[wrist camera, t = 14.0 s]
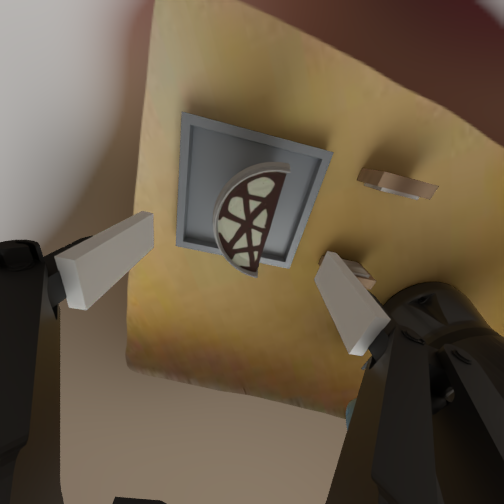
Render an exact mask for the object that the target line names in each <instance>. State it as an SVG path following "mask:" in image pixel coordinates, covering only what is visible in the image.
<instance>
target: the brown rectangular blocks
mask: <svg viewBox="0 0 504 504" xmlns="http://www.w3.org/2000/svg"><path fill="white" fill-rule="evenodd" d="M357 180H358V181H361V182H365V184H364V186H367V187H371V188H374V189H377V190H380V191H384V192H388V193H392V194H396V195H400V196H404V197H408V198H411V199H415V200H418V199H419V197H422V198H426V199H431V198H432V196H433V195H434V193H435V192H436V190H437V189H438V187H439V186H437V185H433V184H430V183H426V182H422V181H418V180H415V179H411V178H407V177H403V176H399V175H396V174H392V173H388V172H384V171H378V170H372V169H365V168H362V170H361V172H360V174H359V176H358V179H357ZM324 257H325V256H322V257H321V259H320V261H319V263H318V264H319V265H320V266H321V264H322V261H323V259H324ZM342 260H343V261H344V263H345V264H346V265H347V266H348V268H349V269H350V270H351V271H352V273H353V274H354V275H355V276H356V277H357V279H358V280H359V281H360V282H361V284H362V285H363V286H364V287H365V288H367V289H372V287H373V286H374V284H375V283H376V280H375V279H374V278H373V277H372V276H371V275H370V274H369V273H368V272H367V271H366V270H365V268H364V267H363V266H362V265H361V264H359V263H357V262H354V261H349V260H345V259H342Z"/></svg>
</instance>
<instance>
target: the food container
mask: <svg viewBox="0 0 504 504" xmlns="http://www.w3.org/2000/svg"><path fill="white" fill-rule="evenodd" d="M287 173H291V171H290V165H289V163H283V162H265V163H259V164H256V165H253V166H250V167H247V168H246V169H244V170H242V171H240V172H238V173H237V174H236V175H235V176H233V177H232V178H231V179H230V180H229V181H228V182H227V183H226V184H225V186H224V187H223V189H222V190H221V192H220V193H219V195H218V198H217V200H216V202H215V206H214V210H213V232H214V237H215V240H216V243H217V246H218V248H219V250H220V251H221V253H222V254H223V256H224V257H225V259H226V260H227V261H228V262H229V263H230V264H231V265H232V266H233V267H235V268H236V269H237V270H239V271H241V272H242V273H244V274H246V275H249V276H251V277H255V278H257V276H258V267H259V262H260V259H261V255H262V252H263V249H264V246H265V243H266V240H267V237H268V234H269V231H270V228H271V224H272V221H273V217H274V214H275V210H276V207H277V204H278V200H279V197H280V194H281V191H282V187H283V184H284V181H285V177H286V174H287Z"/></svg>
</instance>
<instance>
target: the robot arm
mask: <svg viewBox="0 0 504 504" xmlns="http://www.w3.org/2000/svg"><path fill="white" fill-rule="evenodd" d="M152 248H154V230H153V213H150V212H145V211H141V212H139V213H137V214H135V215H133V216H131V217H130V218H127V219H126V220H124V221H122V222H120V223H118V224H116V225H114V226H112V227H110V228H108V229H106V230H104V231H102V232H100V233H99V234H96V235H95V236H89V237H85V238H81V239H79V240H77V241H75V242H73V243H72V244H69V245H67V246H65V247H63V248H60V249H59V250H56V251H54V252H53V253H50V254H48V255H46V256H44V257H43V255H42V252H41V248H40V245H39V244H38V243H37V242H35V241H31V240H11V241H4V242H0V504H64V503H63V497H62V492H61V486H60V307H59V303H60V302H61V301H63V300H64V299H65V298H66V299H67V302H68V306H69V307H70V308H76V309H81V310H87V309H88V308H89V307H90V306H92V305H93V304H94V303H95V302H96V301H97V300H98V299H99V298H100V297H101V296H102V295H103V294H104V293H105V292H107V291H108V290H109V289H110V288H111V287H112V286H113V285H114V284H115V283H116V282H117V281H118V280H119V279H121V278H122V277H123V276H124V275H125V274H126V273H127V272H128V271H129V270H130V269H131V268H132V267H133V266H134V265H135V264H136V263H138V262H139V261H140V260H141V259H142V258H143V257H144V256H145V255H146V254H147V253H148V252H149V251H150V250H151V249H152ZM314 280H315V283H316V285H317V287H318V289H319V291H320V293H321V295H322V297H323V300H324V302H325V304H326V306H327V308H328V310H329V312H330V315H331V317H332V319H333V321H334V323H335V325H336V327H337V330H338V332H339V334H340V336H341V338H342V340H343V342H344V344H345V347H346V349H347V351H348V353H349V354H353V355H359V356H363V354H364V353H365V352H366V351H367V349H369V350H370V352H371V354H372V356H371V357H370V358H369V360H368V361H367V362H366V363H365V364H364V366H363V367H362V368H361V369H363V370H364V369H365V368H366V370H365V373H364V376H363V380H362V383H361V386H360V390H359V393H358V396H357V398H356V399H354V400H352V401H350V402H349V404H348V406H347V410H346V425H347V434H346V437H345V440H344V444H343V447H342V450H341V454H340V457H339V460H338V464H337V467H336V470H335V474H334V477H333V481H332V484H331V488H330V491H329V494H328V497H327V501H326V503H325V504H504V338H503V337H502V336H501V335H499V334H498V333H497V332H495V331H494V330H493V329H492V328H491V327H490V326H489V325H488V324H487V322H486V321H485V320H484V318H483V317H482V316H481V315H480V313H479V312H478V311H477V309H476V308H475V307H474V305H473V304H472V303H471V301H470V300H469V299H468V298H467V297H466V296H465V295H464V294H463V293H461V292H460V291H458V290H457V289H455V288H454V287H452V286H451V285H448V284H445V283H440V282H429V283H422V284H418V285H415V286H412V287H409V288H407V289H405V290H403V291H401V292H399V293H397V294H396V295H395V296H393V297H392V298H391V299H390V300H388V301H387V302H386V304H385V305H384V306H383V305H382V304H380V302H379V301H378V299H377V298H376V297H375V296H374V295H373V294H371V293H370V292H369V291H368V290H366V288H365V287H364V286H363V285H362V284H361V282H360V281H359V280H358V279H357V277H356V276H355V275H354V274H353V273H352V271H351V270H350V269H349V268H348V266H347V265H346V264H345V263H344V261H343V260H342V259H341V258H340V257H339V255H338V254H337V253H334V252H330V251H327V253H326V255H325V257H324V259H323V261H322V264H321V266H320V268H319V270H318V272H317V274H316V276H315V279H314ZM113 504H166V503H164V502H163V501H160V500H147V499H135V498H122V497H115V499H114V501H113Z"/></svg>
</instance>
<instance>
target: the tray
mask: <svg viewBox="0 0 504 504" xmlns="http://www.w3.org/2000/svg"><path fill="white" fill-rule="evenodd" d="M333 153H334V152H330V151H327V150H323V149H319V148H316V147H312V146H308V145H304V144H301V143H297V142H293V141H290V140H286V139H282V138H278V137H275V136H271V135H267V134H264V133H260V132H256V131H252V130H249V129H245V128H241V127H238V126H234V125H230V124H226V123H223V122H219V121H215V120H212V119H208V118H204V117H200V116H197V115H193V114H189V113H186V112H182V118H181V140H180V163H179V185H178V207H177V230H176V246H179V247H184V248H189V249H194V250H198V251H203V252H208V253H213V254H218V255H223V254H222V253H221V251H220V250H219V248H218V246H217V243H216V240H215V237H214V232H213V210H214V206H215V202H216V200H217V198H218V195H219V193H220V192H221V190H222V189H223V187H224V186H225V184H226V183H227V182H228V181H229V180H230V179H231V178H232V177H233V176H235V175H236V174H237V173H238V172H240V171H242V170H244V169H246V168H247V167H250V166H253V165H256V164H259V163H265V162H283V163H289V165H290V171H291V173H287V174H286V177H285V181H284V184H283V187H282V191H281V194H280V197H279V200H278V204H277V207H276V210H275V214H274V217H273V221H272V224H271V228H270V231H269V234H268V237H267V240H266V243H265V246H264V249H263V252H262V255H261V259H260V262H259V263H263V264H268V265H273V266H278V267H283V268H288V269H289V268H290V266H291V263H292V260H293V258H294V255H295V252H296V250H297V247H298V245H299V242H300V239H301V237H302V234H303V231H304V229H305V226H306V223H307V221H308V218H309V216H310V213H311V210H312V208H313V205H314V202H315V200H316V197H317V195H318V192H319V189H320V187H321V184H322V181H323V179H324V176H325V174H326V171H327V168H328V166H329V163H330V160H331V158H332V155H333Z"/></svg>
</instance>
